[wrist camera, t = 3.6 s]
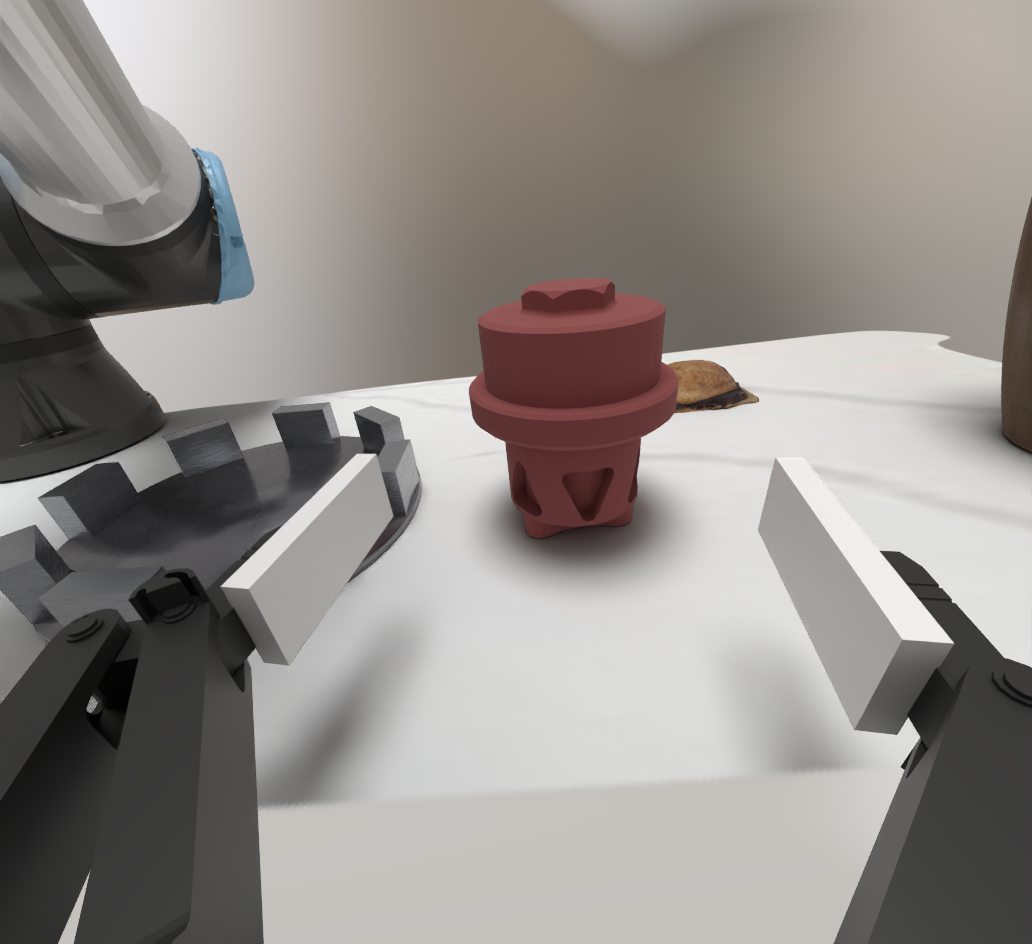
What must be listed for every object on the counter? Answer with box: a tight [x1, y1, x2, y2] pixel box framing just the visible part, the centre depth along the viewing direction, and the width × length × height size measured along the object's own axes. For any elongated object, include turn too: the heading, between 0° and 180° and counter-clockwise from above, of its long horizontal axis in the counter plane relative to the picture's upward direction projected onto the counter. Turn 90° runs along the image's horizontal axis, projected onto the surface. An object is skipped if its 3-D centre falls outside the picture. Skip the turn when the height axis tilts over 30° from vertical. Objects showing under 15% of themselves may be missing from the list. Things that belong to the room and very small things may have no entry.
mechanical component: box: [469, 278, 679, 538], centre depth 22 cm, size 12×10×10 cm
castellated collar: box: [0, 402, 421, 642], centre depth 27 cm, size 21×21×4 cm
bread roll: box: [667, 360, 759, 413], centre depth 39 cm, size 11×8×4 cm
